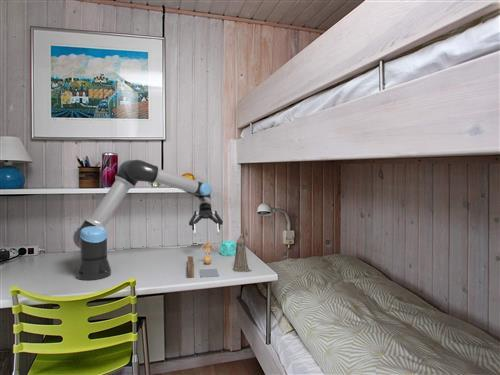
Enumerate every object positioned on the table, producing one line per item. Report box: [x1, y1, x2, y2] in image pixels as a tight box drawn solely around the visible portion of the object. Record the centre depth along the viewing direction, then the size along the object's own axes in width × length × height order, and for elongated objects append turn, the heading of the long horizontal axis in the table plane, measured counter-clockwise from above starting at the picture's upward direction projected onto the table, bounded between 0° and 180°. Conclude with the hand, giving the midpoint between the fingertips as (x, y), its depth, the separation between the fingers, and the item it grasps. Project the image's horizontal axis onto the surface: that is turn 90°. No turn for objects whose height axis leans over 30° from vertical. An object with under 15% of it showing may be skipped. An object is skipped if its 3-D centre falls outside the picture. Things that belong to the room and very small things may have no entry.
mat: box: [199, 268, 220, 278], centre depth 166 cm, size 9×12×1 cm
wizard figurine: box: [232, 222, 252, 273], centre depth 171 cm, size 10×8×25 cm
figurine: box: [200, 241, 216, 265], centre depth 183 cm, size 8×6×12 cm
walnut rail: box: [187, 255, 195, 279], centre depth 172 cm, size 3×28×4 cm, turn 11°
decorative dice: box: [219, 240, 237, 257], centre depth 203 cm, size 8×8×8 cm
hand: (206, 233), depth 193 cm, fingers open, 13 cm apart
